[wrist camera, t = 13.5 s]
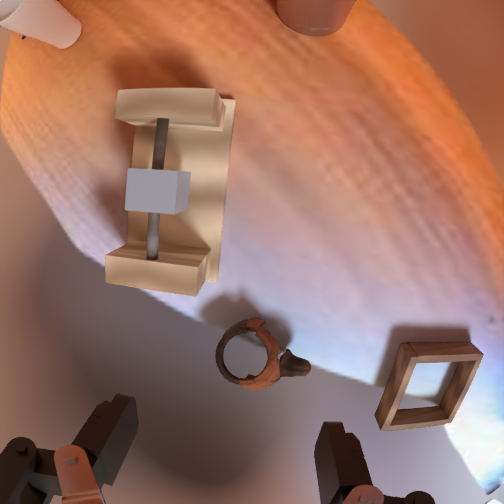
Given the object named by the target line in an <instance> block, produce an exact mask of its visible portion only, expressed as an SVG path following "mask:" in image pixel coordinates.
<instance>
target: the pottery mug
mask: <svg viewBox="0 0 504 504" xmlns="http://www.w3.org/2000/svg"><path fill="white" fill-rule="evenodd" d="M263 324H265V320H262V319H250V320H243V321H241V322H239V323H237V324H236V325H234V326H232V327H231V328H230V329H228V330H227V331H226V332H225V334H224V335H223V337H222V339H221V340H220V342H219V343H218V346H217V349H216V363H217V366H218V368H219V370H220V372H221V374H222V375H223V376H224V378H225V379H227V380H228V381H229V382H233V383H235V384H240V385H241V386H242V388H243V389H247V390H259V389H264V388H266V387H268V386H271V385H273V384H274V383H275V382H277V381H278V380H279V379H280V378H281V377H285V376H289V377H293V376H306V375H307V374H308V373H309V372H310V370H311V364H310V363H309V361H307V360H305V359H302V358H299V357H297V356H294V355H293V354H292V353H291V351H290V350H289V349H287V350H286V352H285V353H284V354H283V355H282V356H281V357H280V361H279V359H278V357H277V355H278V354H280V353H281V351H280V348H279V346H278V344H277V342H276V340H275V339H274V338H273V336H272V335H271V334H270V332H269V331H268V330H266V329H265V328H264V327H262V325H263ZM248 331H253V332H256V336H257V337H258V338H259V339H260V340H261V341H262V342H263V343H264V345H265V347H266V349H267V355H268V360H267V364H266V366H265V368H264V370H263V371H262V372H261V373H260V374H259V375H257V376H253V375H250V374H249V375H248V376H247V377H246V378H244V379H243V378H238V377H236V376H234V375H232V374H231V373H230V372H229V371H228V369H227V368H226V366H225V364H224V360H223V352H224V348H225V346H226V344H227V342H228V341H229V340H230V339H231V338H233V337H234V336H236V335H238V334H242V333H247V332H248Z"/></svg>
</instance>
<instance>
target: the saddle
mask: <svg viewBox="0 0 504 504" xmlns="http://www.w3.org/2000/svg"><path fill="white" fill-rule="evenodd" d="M190 176H191V172H185V171H172V170H156V169H136V168H128V171H127V183H126V197H125V210H128V211H140V212H152V213H163V214H174V215H175V214H177V213H179V212H181V211H183V210H185V209H187V208H188V197H189V187H190Z"/></svg>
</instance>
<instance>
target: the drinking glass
mask: <svg viewBox="0 0 504 504" xmlns="http://www.w3.org/2000/svg"><path fill="white" fill-rule="evenodd" d="M0 26H1V27H3V28H5V29H7V30H9V31H12V32H14V33H17V34H20V35H23V36H26V37H30V38H33V39H36V40H38V41H41V42H44V43H47V44H50V45H52V46H54V47H56V48H58V49H64V48H67V47H69V46H71V45H72V44H73V43H74V42H75V41H76V40H77V39H78V38H79V36H80V34H81V31H82V24H81V22H80V21H79V20H78V19H77V18H75V17H74V16H73V15H72V14H71V13H70V12H69V11H68V10H67V9H66V8H65V7H64V6H63V5H61V4H60V3H59V2H58V1H57V0H0Z"/></svg>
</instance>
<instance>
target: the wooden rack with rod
mask: <svg viewBox="0 0 504 504" xmlns="http://www.w3.org/2000/svg"><path fill="white" fill-rule="evenodd" d="M235 108H236V100H231V99H221V97H220V96H219V94H218V92H217V90H216V89H211V88H141V89H122V90H118V96H117V102H116V108H115V115H114V118H116V119H119V120H121V121H124V122H127V123H130V124H132V125H135V126H136V128H135V136H134V145H133V155H132V165H131V168H136V169H156V170H172V171H185V172H191V176H190V187H189V197H188V208H187V209H185V210H183V211H181V212H179V213H177V214H175V215H174V214H163V213H152V212H140V211H128V231H127V244H126V245H124V246H122V247H120V248H118V249H116V250H114V251H112V252H110V253H108V254H106V255H105V268H106V283H112V284H118V285H124V286H130V287H136V288H142V289H149V290H155V291H162V292H168V293H175V294H182V295H189V296H197V294H198V292H199V290H200V289H201V287H202V285H203V283H204V282H205V280H206V281H214V282H217V281H218V274H219V262H220V251H221V240H222V229H223V218H224V208H225V197H226V188H227V178H228V169H229V159H230V150H231V141H232V133H233V124H234V116H235Z"/></svg>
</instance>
